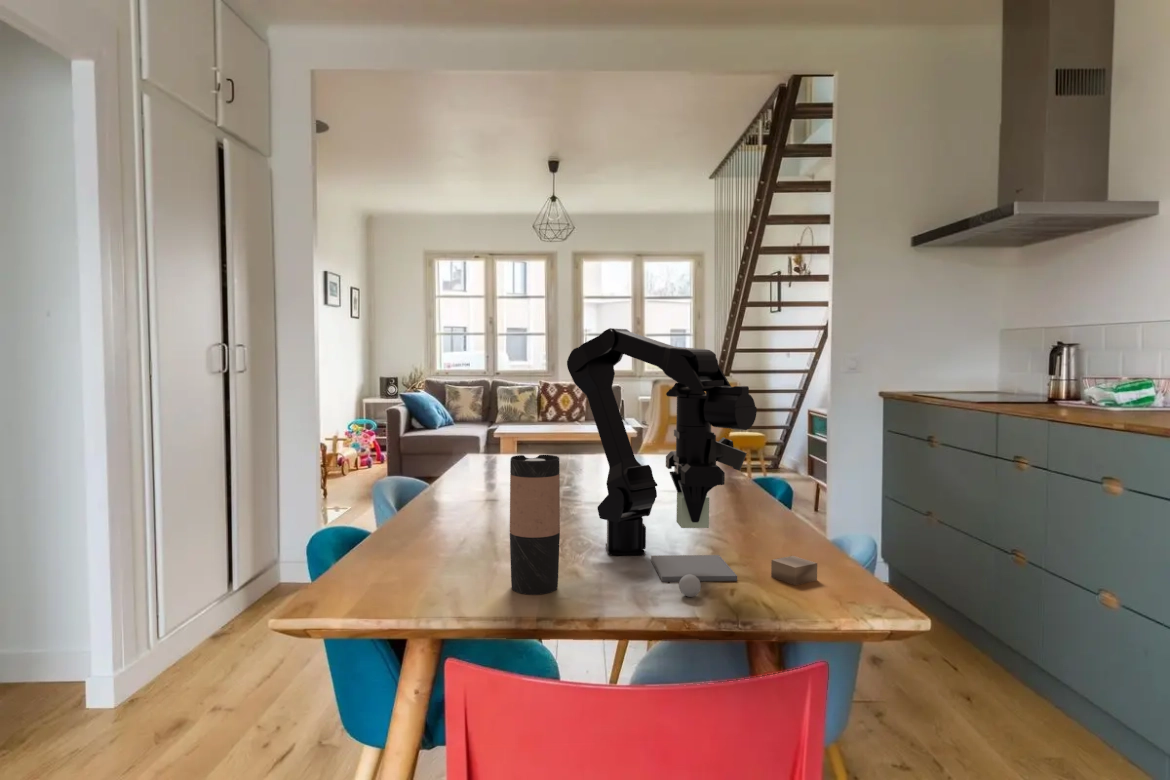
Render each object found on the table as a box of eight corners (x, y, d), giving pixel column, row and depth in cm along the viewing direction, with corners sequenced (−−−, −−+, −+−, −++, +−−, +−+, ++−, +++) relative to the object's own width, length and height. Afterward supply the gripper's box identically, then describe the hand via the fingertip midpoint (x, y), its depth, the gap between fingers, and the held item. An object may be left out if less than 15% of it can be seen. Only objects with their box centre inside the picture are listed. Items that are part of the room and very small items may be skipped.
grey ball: (681, 600, 104) (681, 578, 104) (677, 592, 107) (677, 571, 107) (702, 599, 104) (703, 578, 104) (698, 592, 107) (698, 571, 107)
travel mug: (540, 598, 104) (540, 462, 103) (499, 589, 108) (499, 458, 107) (569, 584, 111) (569, 456, 110) (529, 576, 115) (529, 452, 114)
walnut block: (794, 586, 111) (795, 567, 111) (771, 578, 116) (771, 559, 115) (817, 581, 114) (817, 563, 114) (793, 573, 118) (793, 555, 118)
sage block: (681, 528, 116) (681, 497, 116) (676, 521, 121) (676, 492, 120) (708, 527, 116) (709, 497, 116) (702, 521, 121) (703, 492, 121)
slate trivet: (662, 581, 113) (662, 576, 113) (651, 560, 125) (651, 555, 124) (737, 580, 113) (737, 575, 113) (719, 559, 125) (719, 554, 125)
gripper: (758, 431, 109) (756, 532, 110) (727, 420, 128) (726, 506, 128) (686, 431, 108) (684, 532, 109) (665, 419, 127) (664, 506, 128)
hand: (692, 518), depth 119 cm, fingers closed on sage block, 4 cm apart
